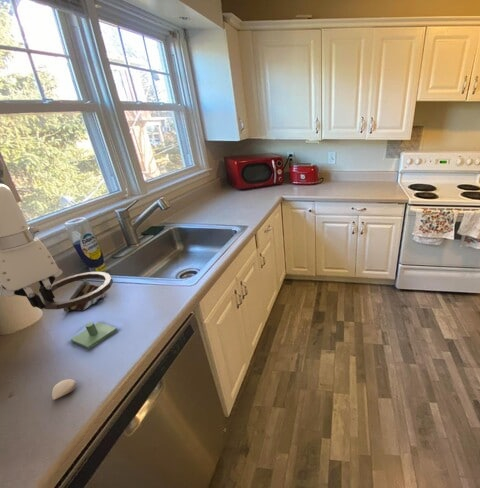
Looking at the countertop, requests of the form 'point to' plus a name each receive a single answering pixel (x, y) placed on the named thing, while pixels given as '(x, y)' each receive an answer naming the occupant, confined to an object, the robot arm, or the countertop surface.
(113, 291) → the countertop surface
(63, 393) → the cream half-moon wedge
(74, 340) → the peg stand
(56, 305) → the hoop
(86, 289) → the chocolate cake
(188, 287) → the countertop surface
